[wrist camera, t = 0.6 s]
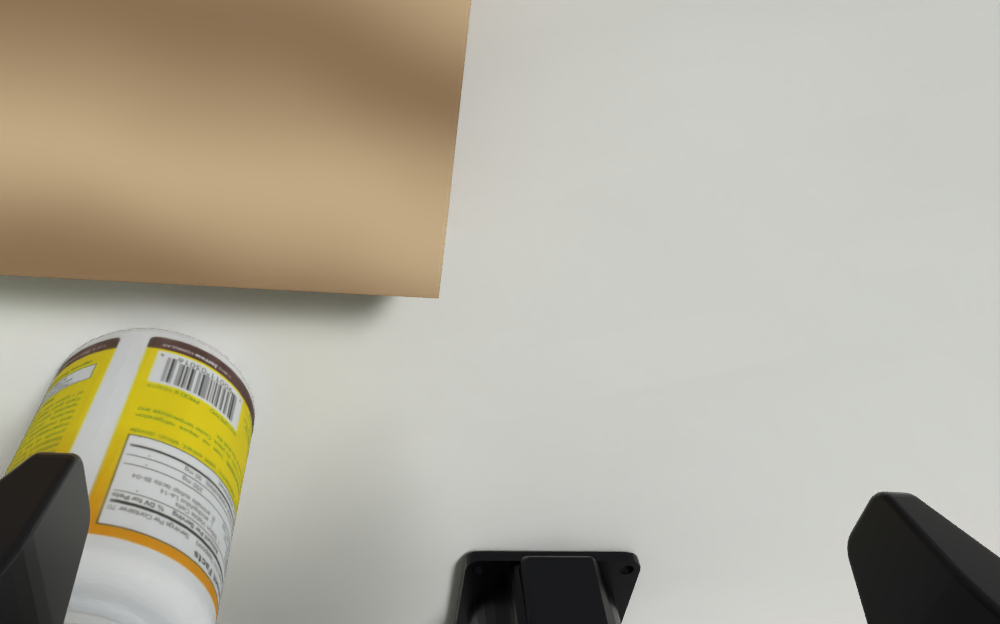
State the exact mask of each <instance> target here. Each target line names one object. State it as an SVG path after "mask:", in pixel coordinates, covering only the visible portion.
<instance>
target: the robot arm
mask: <svg viewBox="0 0 1000 624" xmlns="http://www.w3.org/2000/svg"><path fill="white" fill-rule="evenodd" d="M89 525H90V503H89V496H88V490H87V484H86V477H85V471H84V465H83V462H82V459H81V458H80V456H78V455H77V454H74V453H57V452H39V453H36V454H34V455H32V456H30V457H29V458H27V459H26V460H25V461H23V462H22V463H21V464H19V465H18V466H17V467H16V468H14V469H13V470H12V471H10V472H9V473H8V474H6V475H5V476H4V477H3V478H1V479H0V624H64V620H65V616H66V612H67V609H68V605H69V601H70V598H71V594H72V590H73V586H74V583H75V579H76V575H77V572H78V568H79V564H80V560H81V557H82V553H83V549H84V546H85V542H86V538H87V534H88V530H89ZM847 550H848V557H849V561H850V565H851V568H852V572H853V575H854V579H855V582H856V585H857V589H858V592H859V596H860V599H861V603H862V606H863V610H864V613H865V617H866V620H867V623H868V624H1000V557H998V556H997V555H995V554H994V553H993V552H991V551H990V550H989V549H987V548H986V547H984V546H983V545H982V544H980V543H979V542H978V541H976V540H975V539H974V538H972V537H971V536H969V535H968V534H967V533H965V532H964V531H963V530H961V529H960V528H958V527H957V526H956V525H954V524H953V523H952V522H950V521H949V520H947V519H946V518H945V517H943V516H942V515H941V514H939V513H938V512H936V511H935V510H934V509H932V508H931V507H930V506H928V505H927V504H926V503H924V502H923V501H921V500H920V499H919V498H917V497H916V496H914V495H912V494H909V493H900V492H878V493H877V494H875V495H874V496H872V498H871V499H870V500H869V502H868V504H867V506H866V507H865V509H864V511H863V513H862V514H861V516H860V518H859V520H858V521H857V523H856V525H855V527H854V528H853V530H852V532H851V534H850V536H849V539H848V547H847ZM639 572H640V564H639V560H638V557H637V556H636V555H635V554H633V553H629V552H474V553H472V554H469V555H468V556H467V557H466V559H465V561H464V567H463V573H462V579H461V585H460V591H459V597H458V603H457V609H456V615H455V621H454V624H621V622H622V620H623V617H624V614H625V611H626V608H627V606H628V603H629V600H630V597H631V594H632V592H633V589H634V586H635V583H636V580H637V577H638V575H639Z"/></svg>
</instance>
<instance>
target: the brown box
mask: <svg viewBox="0 0 1000 624" xmlns="http://www.w3.org/2000/svg"><path fill="white" fill-rule="evenodd" d="M470 7H471V0H0V275H11V276H29V277H48V278H67V279H85V280H104V281H123V282H142V283H160V284H179V285H198V286H216V287H235V288H254V289H273V290H291V291H310V292H329V293H347V294H366V295H385V296H404V297H422V298H439V290H440V281H441V272H442V263H443V254H444V245H445V235H446V226H447V217H448V208H449V199H450V190H451V181H452V171H453V162H454V153H455V144H456V135H457V126H458V117H459V108H460V98H461V89H462V80H463V71H464V62H465V53H466V44H467V34H468V25H469V16H470Z"/></svg>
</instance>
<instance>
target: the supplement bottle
mask: <svg viewBox="0 0 1000 624" xmlns="http://www.w3.org/2000/svg"><path fill="white" fill-rule="evenodd" d="M254 417H255V409H254V401H253V396H252V394H251V391H250V388H249V385H248V383H247V382H246V380H245V378H244V377H243V375H242V373H241V372H240V371H239V370H238V368H237V367H236V366H235V365H234V364H233V363H232V362H231V361H230V360H229V359H228V358H227V357H226V356H225V355H223V354H222V353H220V352H219V351H218V350H216V349H215V348H213V347H211V346H210V345H208V344H206V343H204V342H202V341H200V340H198V339H195V338H193V337H190V336H187V335H184V334H180V333H177V332H172V331H168V330H161V329H147V328H139V329H128V330H121V331H116V332H112V333H109V334H106V335H103V336H100V337H98V338H96V339H93V340H91V341H89V342H88V343H86V344H84V345H83V346H81V347H80V348H79V349H77V350H76V351H75V352H73V353H72V354H71V355H70V356H69V357H68V358H67V360H66V361H65V362H64V363H63V364H62V366H61V368H60V369H59V371H58V372H57V374H56V376H55V378H54V380H53V382H52V384H51V386H50V388H49V390H48V392H47V394H46V395H45V397H44V399H43V401H42V403H41V405H40V407H39V409H38V412H37V413H36V415H35V417H34V419H33V421H32V423H31V425H30V427H29V429H28V431H27V433H26V435H25V437H24V439H23V441H22V443H21V444H20V446H19V448H18V450H17V452H16V454H15V456H14V458H13V460H12V462H11V464H10V466H9V468H8V470H7V472H6V474H8V473H9V472H10V471H12V470H13V469H14V468H16V467H17V466H18V465H19V464H21V463H22V462H23V461H25V460H26V459H27V458H29V457H30V456H32V455H34V454H36V453H39V452H57V453H74V454H77V455H78V456H80V458H81V459H82V462H83V465H84V471H85V477H86V484H87V490H88V496H89V503H90V525H89V530H88V534H87V538H86V542H85V546H84V549H83V553H82V557H81V560H80V564H79V568H78V572H77V575H76V579H75V583H74V586H73V590H72V594H71V598H70V601H69V605H68V609H67V612H66V616H65V620H64V624H216V620H217V614H218V609H219V603H220V598H221V593H222V588H223V582H224V577H225V572H226V567H227V562H228V557H229V551H230V546H231V540H232V536H233V530H234V525H235V520H236V514H237V509H238V504H239V499H240V493H241V488H242V483H243V478H244V473H245V467H246V462H247V457H248V452H249V447H250V442H251V437H252V433H253V425H254ZM6 474H5V475H6Z"/></svg>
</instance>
